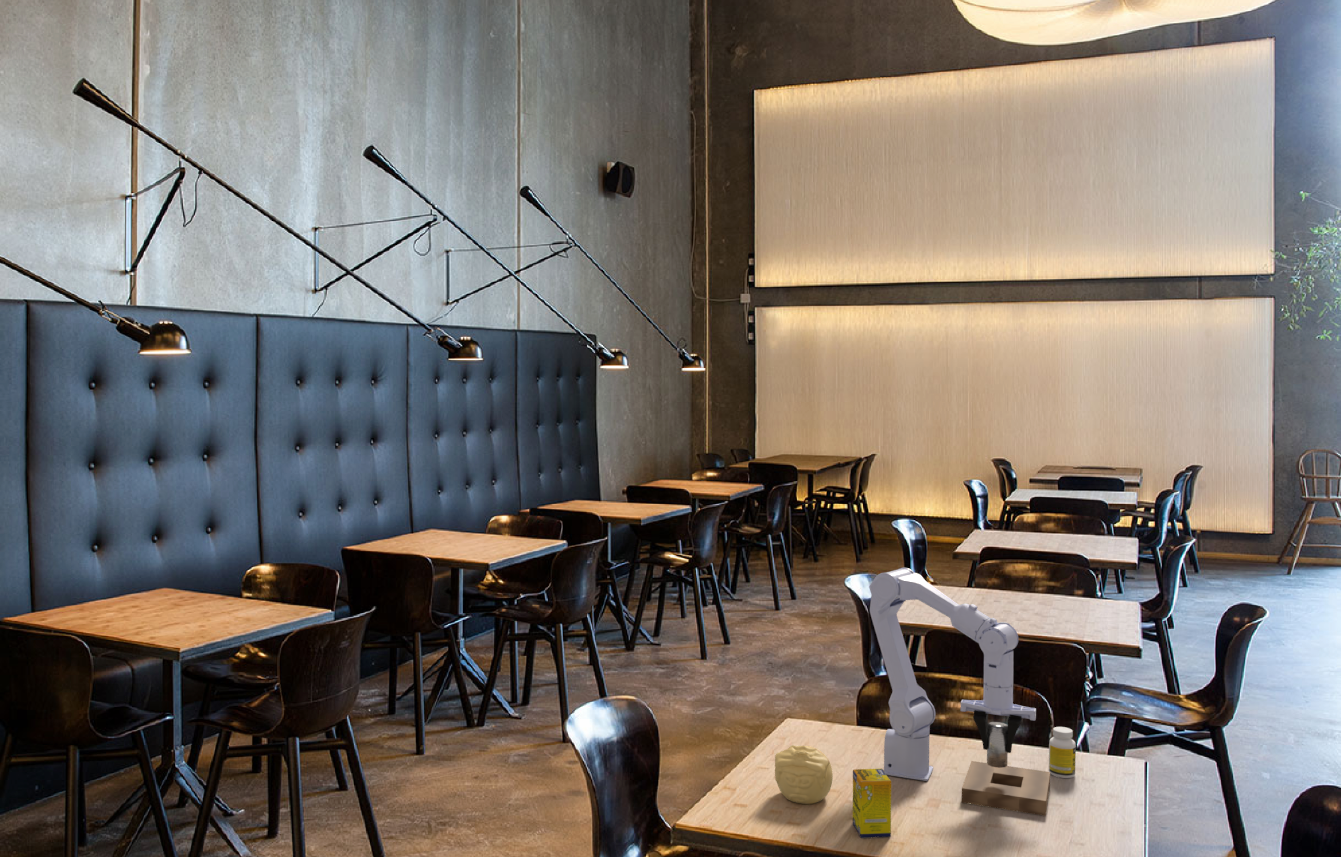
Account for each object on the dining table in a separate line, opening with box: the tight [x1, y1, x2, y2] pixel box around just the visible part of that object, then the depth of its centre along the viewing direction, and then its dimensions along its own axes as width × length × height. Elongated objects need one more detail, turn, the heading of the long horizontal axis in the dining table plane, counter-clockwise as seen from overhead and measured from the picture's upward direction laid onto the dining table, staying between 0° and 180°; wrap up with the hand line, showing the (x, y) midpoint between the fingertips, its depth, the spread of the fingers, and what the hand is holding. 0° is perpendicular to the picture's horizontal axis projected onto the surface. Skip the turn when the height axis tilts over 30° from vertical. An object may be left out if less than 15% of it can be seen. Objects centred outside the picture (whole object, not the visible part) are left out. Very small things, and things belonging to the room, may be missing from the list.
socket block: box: [961, 760, 1051, 817], centre depth 210 cm, size 16×16×3 cm
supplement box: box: [852, 768, 892, 839], centre depth 192 cm, size 6×6×11 cm
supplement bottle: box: [1048, 726, 1077, 779], centre depth 220 cm, size 5×5×10 cm
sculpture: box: [774, 744, 834, 805], centre depth 208 cm, size 12×12×11 cm
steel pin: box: [986, 721, 1009, 768], centre depth 207 cm, size 4×4×8 cm
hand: (997, 749), depth 208 cm, fingers closed on steel pin, 4 cm apart
